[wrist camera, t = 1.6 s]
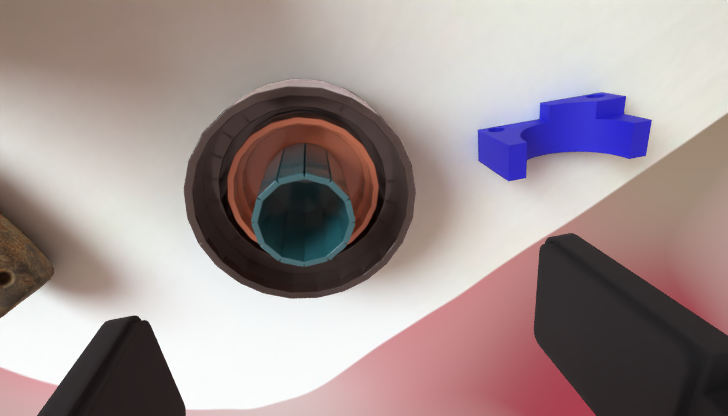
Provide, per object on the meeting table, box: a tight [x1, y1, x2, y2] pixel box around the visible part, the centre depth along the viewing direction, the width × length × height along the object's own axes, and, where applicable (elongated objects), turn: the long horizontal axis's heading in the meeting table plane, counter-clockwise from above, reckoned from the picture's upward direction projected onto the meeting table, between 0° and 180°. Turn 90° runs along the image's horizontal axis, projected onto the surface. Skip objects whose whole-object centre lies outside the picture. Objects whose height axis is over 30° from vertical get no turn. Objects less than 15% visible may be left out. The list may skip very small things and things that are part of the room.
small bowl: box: [227, 110, 379, 245], centre depth 33 cm, size 12×12×4 cm
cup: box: [251, 142, 356, 267], centre depth 30 cm, size 7×7×9 cm
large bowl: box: [184, 79, 416, 298], centre depth 32 cm, size 17×17×6 cm
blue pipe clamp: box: [478, 92, 652, 181], centre depth 33 cm, size 12×4×6 cm, turn 98°
